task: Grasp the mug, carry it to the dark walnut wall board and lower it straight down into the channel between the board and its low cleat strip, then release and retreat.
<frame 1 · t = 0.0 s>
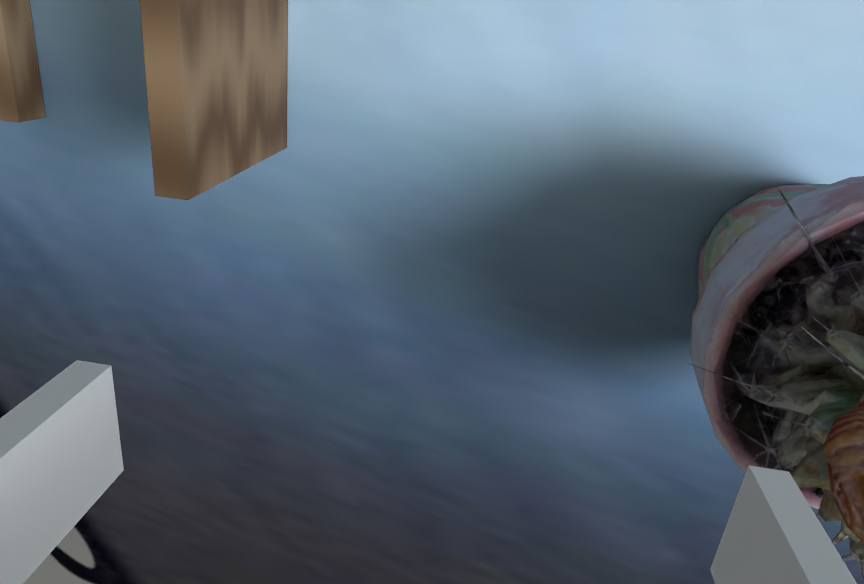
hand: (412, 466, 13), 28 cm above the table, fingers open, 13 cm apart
potted plant: (797, 260, 39), on the table
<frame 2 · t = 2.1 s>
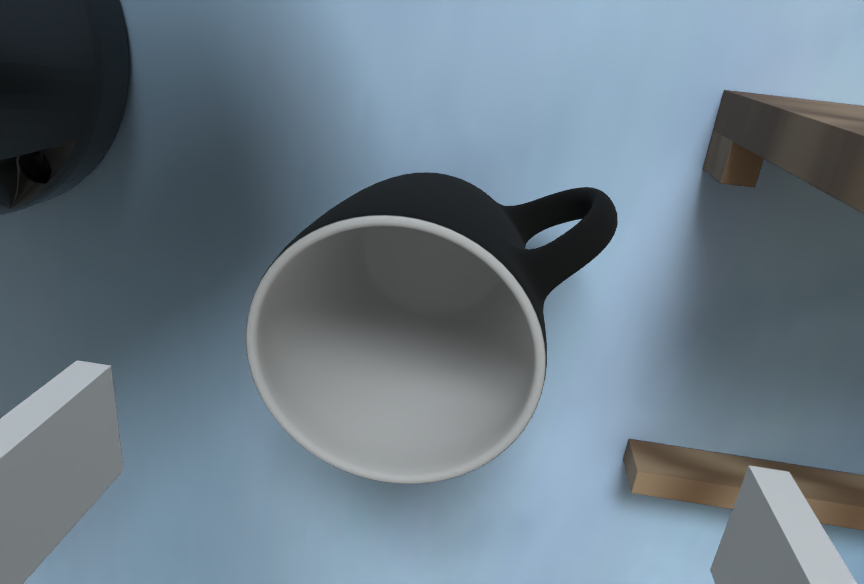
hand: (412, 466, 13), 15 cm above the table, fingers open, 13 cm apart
mug: (464, 233, 27), on the table
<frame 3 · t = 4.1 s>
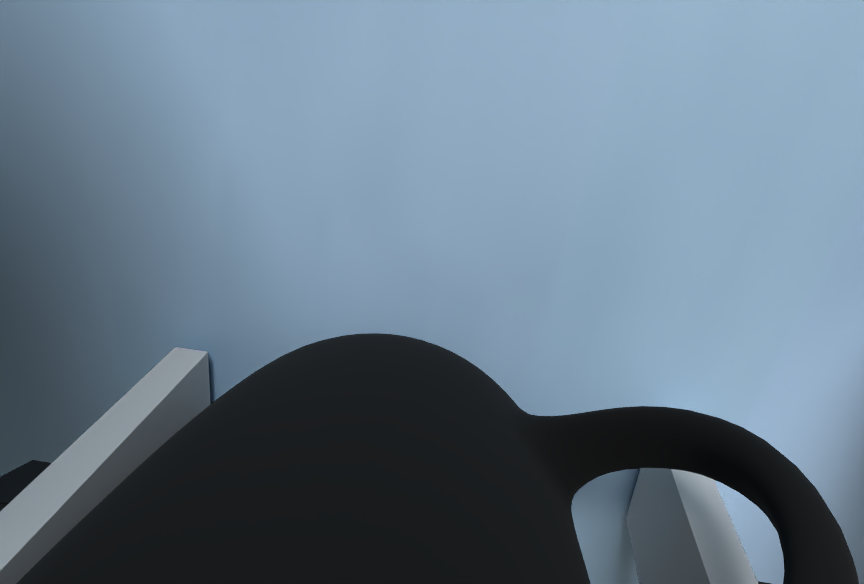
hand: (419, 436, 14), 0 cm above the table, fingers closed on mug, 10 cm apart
mug: (447, 424, 14), on the table, touching gripper
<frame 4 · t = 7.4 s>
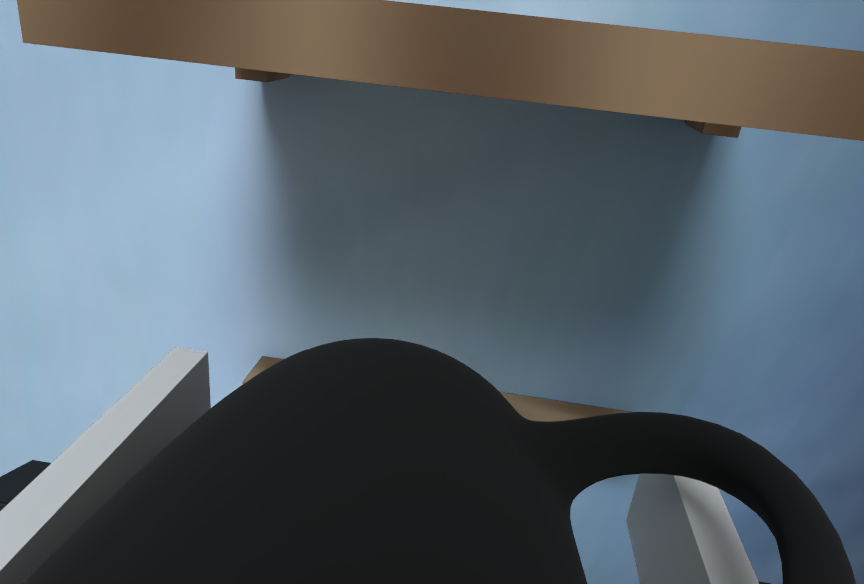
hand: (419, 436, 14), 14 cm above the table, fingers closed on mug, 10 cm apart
mug: (446, 428, 14), point 14 cm above the table, touching gripper
cleat board: (473, 175, 26), on the table
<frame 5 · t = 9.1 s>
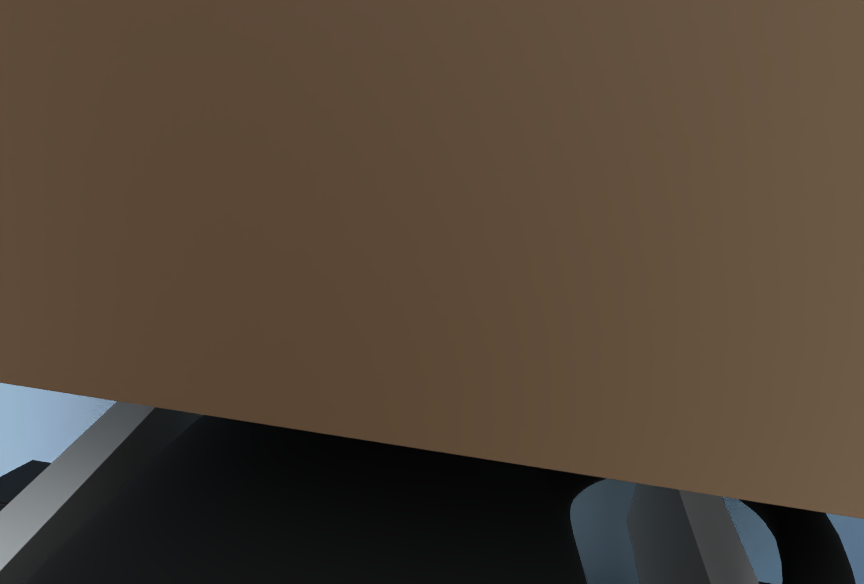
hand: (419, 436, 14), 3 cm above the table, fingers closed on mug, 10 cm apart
mug: (446, 428, 14), point 3 cm above the table, touching gripper
cleat board: (443, 270, 16), on the table
when the fingers open (2 cm above the table, at t = 10.4 s): mug drops 1 cm, on the table.
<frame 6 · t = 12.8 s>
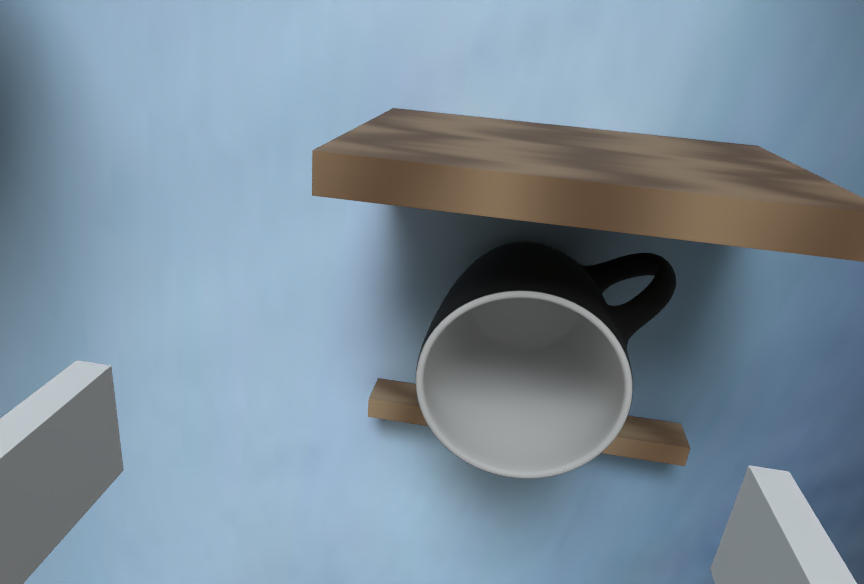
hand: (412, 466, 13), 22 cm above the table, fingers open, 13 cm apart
mug: (548, 284, 35), on the table
cleat board: (551, 240, 34), on the table
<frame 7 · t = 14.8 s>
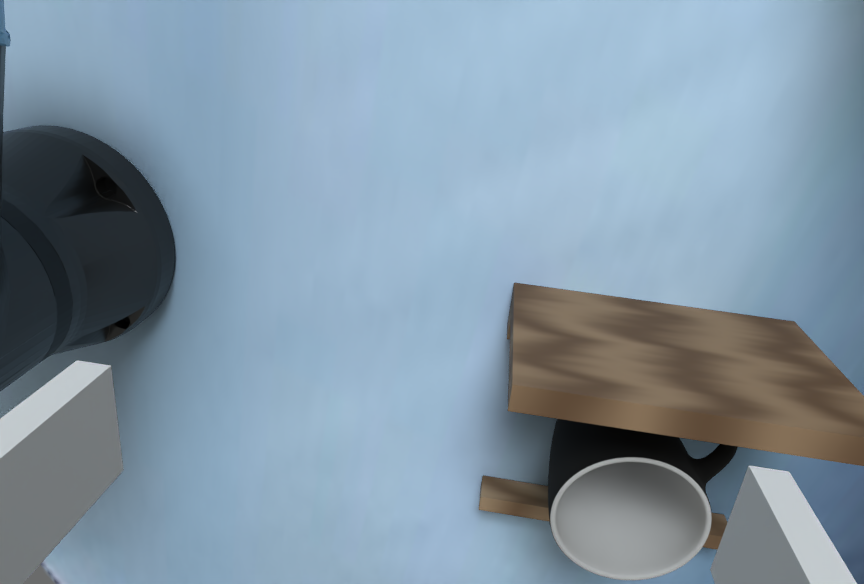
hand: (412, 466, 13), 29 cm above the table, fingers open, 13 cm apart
mug: (626, 410, 45), on the table
cleat board: (631, 380, 44), on the table
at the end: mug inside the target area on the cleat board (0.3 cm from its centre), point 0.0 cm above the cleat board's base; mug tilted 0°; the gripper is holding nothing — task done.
